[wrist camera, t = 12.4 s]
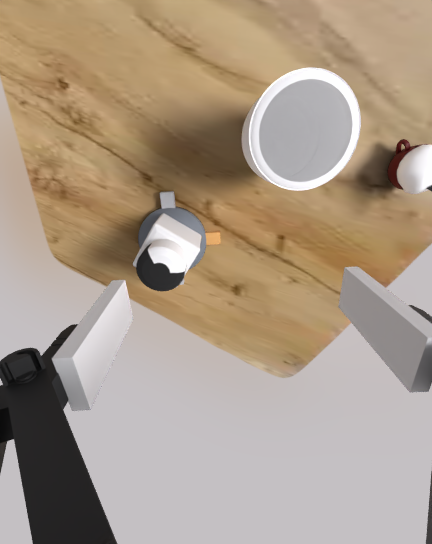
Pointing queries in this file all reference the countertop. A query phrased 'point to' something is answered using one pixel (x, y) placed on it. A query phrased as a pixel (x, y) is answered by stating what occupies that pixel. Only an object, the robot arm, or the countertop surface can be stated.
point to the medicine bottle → (167, 254)
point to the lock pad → (182, 217)
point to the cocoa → (411, 168)
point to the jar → (302, 129)
